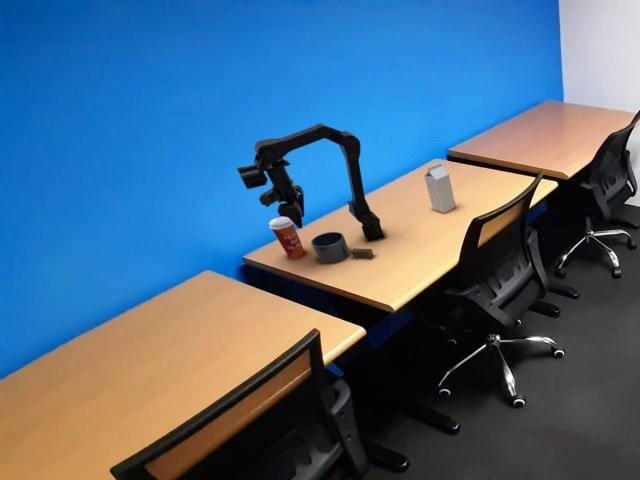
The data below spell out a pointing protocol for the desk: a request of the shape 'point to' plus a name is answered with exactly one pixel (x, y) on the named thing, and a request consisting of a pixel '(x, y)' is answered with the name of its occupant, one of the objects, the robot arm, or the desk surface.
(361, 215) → the robot arm
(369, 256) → the dark rectangular block
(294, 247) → the paper cup
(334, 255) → the dark grey round bowl
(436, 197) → the milk carton
